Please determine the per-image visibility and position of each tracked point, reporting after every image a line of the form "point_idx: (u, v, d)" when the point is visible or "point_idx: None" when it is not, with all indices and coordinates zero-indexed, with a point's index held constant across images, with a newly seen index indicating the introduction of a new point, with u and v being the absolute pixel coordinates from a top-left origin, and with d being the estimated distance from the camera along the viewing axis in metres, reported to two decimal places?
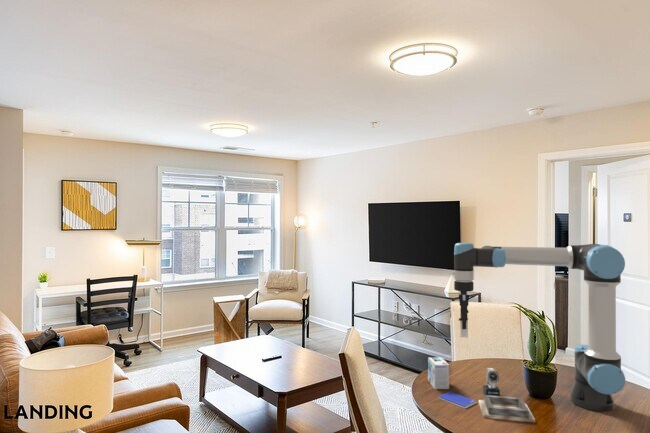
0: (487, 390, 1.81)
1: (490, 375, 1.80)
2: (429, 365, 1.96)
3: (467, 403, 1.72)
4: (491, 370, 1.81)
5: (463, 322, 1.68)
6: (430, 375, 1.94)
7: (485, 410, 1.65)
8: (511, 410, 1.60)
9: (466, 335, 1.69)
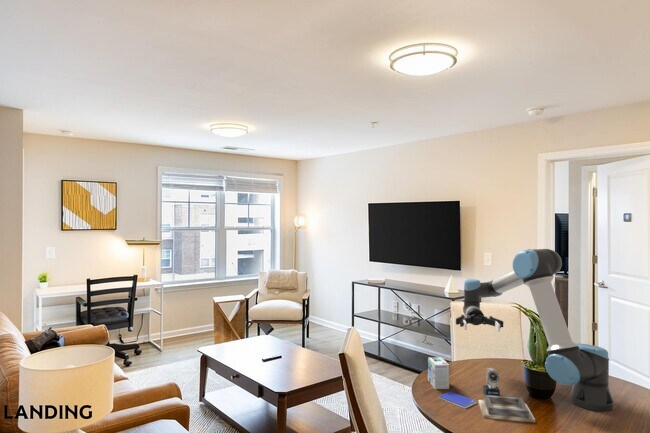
0: (487, 390, 1.81)
1: (490, 375, 1.80)
2: (429, 365, 1.96)
3: (467, 403, 1.72)
4: (491, 370, 1.81)
5: (460, 323, 1.92)
6: (430, 375, 1.94)
7: (485, 410, 1.65)
8: (511, 410, 1.60)
9: (464, 323, 1.87)
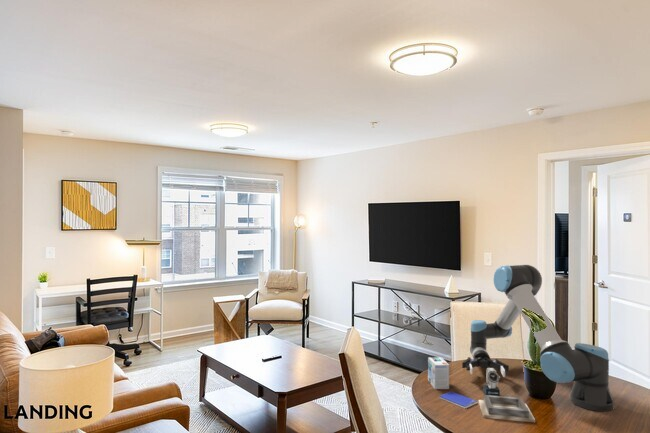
0: (487, 390, 1.81)
1: (490, 375, 1.80)
2: (429, 365, 1.96)
3: (467, 403, 1.72)
4: (491, 370, 1.81)
5: (466, 367, 1.98)
6: (430, 375, 1.94)
7: (485, 410, 1.65)
8: (511, 410, 1.60)
9: (470, 368, 1.93)
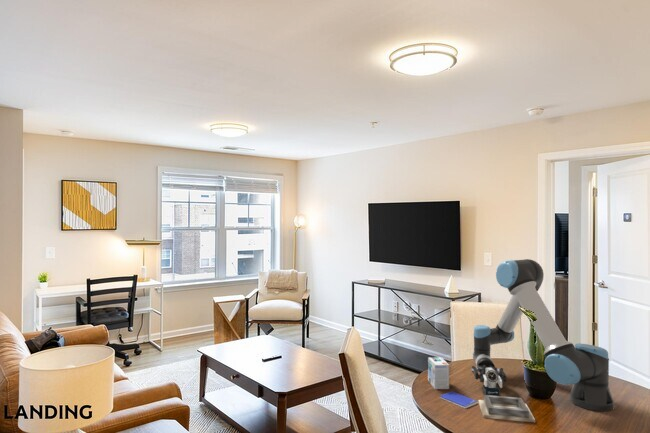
0: (487, 390, 1.81)
1: (489, 375, 1.80)
2: (429, 365, 1.96)
3: (468, 403, 1.72)
4: (490, 370, 1.81)
5: (480, 378, 1.84)
6: (430, 375, 1.94)
7: (485, 410, 1.65)
8: (511, 410, 1.60)
9: (485, 380, 1.79)
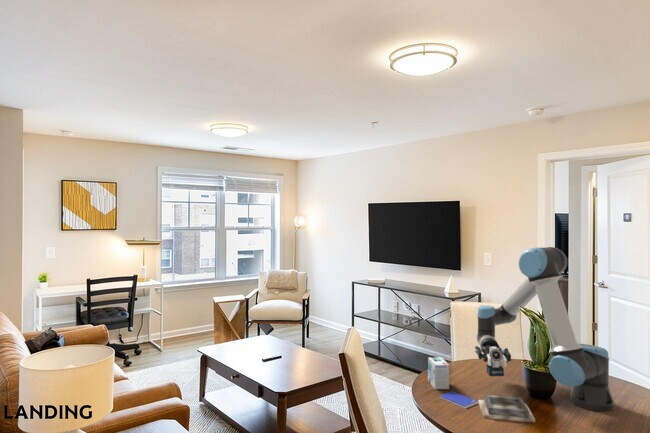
0: (490, 369, 1.73)
1: (493, 354, 1.72)
2: (429, 365, 1.96)
3: (468, 403, 1.72)
4: (494, 348, 1.74)
5: (483, 357, 1.76)
6: (430, 375, 1.94)
7: (485, 410, 1.65)
8: (511, 410, 1.60)
9: (488, 359, 1.71)
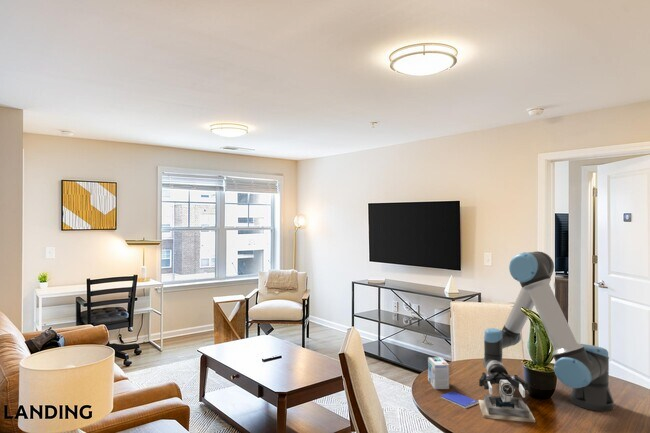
0: (501, 404, 1.64)
1: (504, 388, 1.64)
2: (429, 365, 1.96)
3: (468, 403, 1.72)
4: (505, 382, 1.65)
5: (484, 385, 1.70)
6: (430, 375, 1.94)
7: (485, 410, 1.65)
8: (511, 410, 1.60)
9: (489, 388, 1.65)
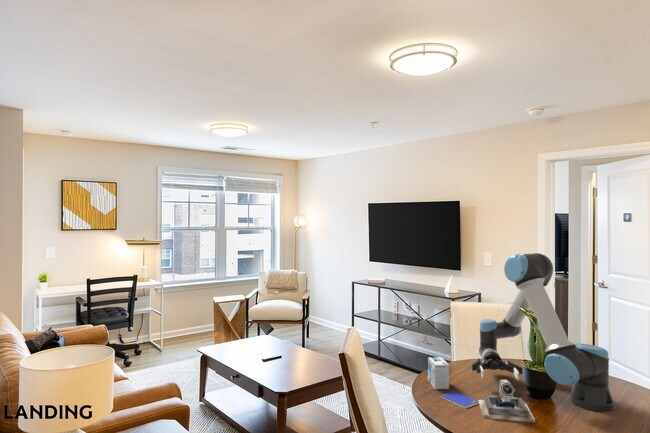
0: (501, 404, 1.64)
1: (504, 388, 1.64)
2: (429, 365, 1.96)
3: (468, 403, 1.72)
4: (505, 382, 1.65)
5: (477, 369, 1.84)
6: (430, 375, 1.94)
7: (485, 410, 1.65)
8: (511, 410, 1.60)
9: (481, 371, 1.78)
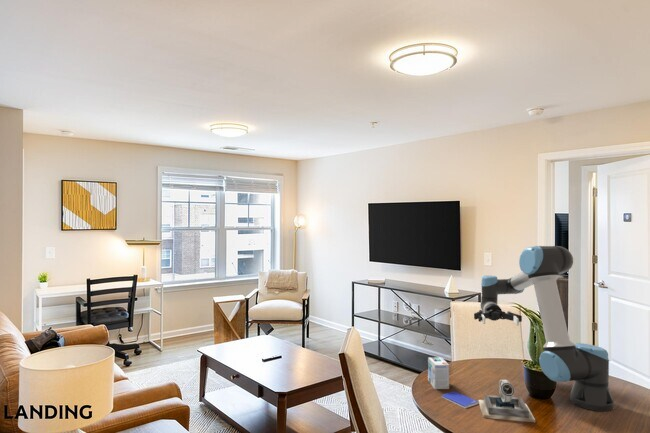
0: (501, 404, 1.64)
1: (504, 388, 1.64)
2: (429, 365, 1.96)
3: (468, 403, 1.72)
4: (505, 382, 1.65)
5: (478, 317, 1.94)
6: (430, 375, 1.94)
7: (485, 410, 1.65)
8: (511, 410, 1.60)
9: (483, 318, 1.89)
